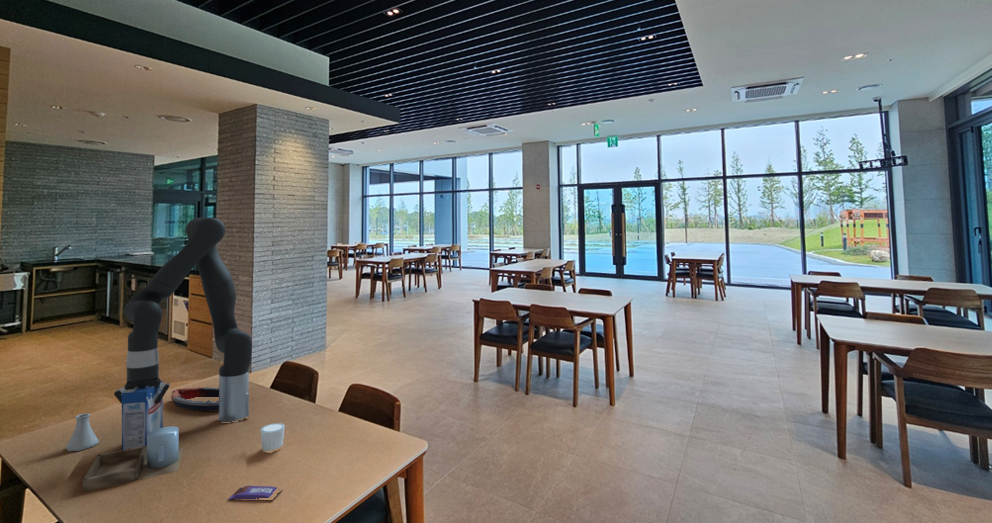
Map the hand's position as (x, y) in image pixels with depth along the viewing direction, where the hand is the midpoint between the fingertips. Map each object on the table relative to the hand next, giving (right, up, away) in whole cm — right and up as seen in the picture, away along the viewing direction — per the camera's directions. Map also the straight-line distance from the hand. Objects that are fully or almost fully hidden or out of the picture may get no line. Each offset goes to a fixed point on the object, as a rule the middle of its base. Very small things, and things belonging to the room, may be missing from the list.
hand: (143, 417), depth 124 cm
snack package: (+48, -13, -21) cm, 54 cm away
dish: (-8, -9, +36) cm, 38 cm away
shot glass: (+39, -11, +3) cm, 41 cm away
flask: (-20, -10, +1) cm, 23 cm away
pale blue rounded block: (+14, -9, -9) cm, 19 cm away
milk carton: (0, -10, 0) cm, 10 cm away
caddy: (+9, -11, -12) cm, 19 cm away
